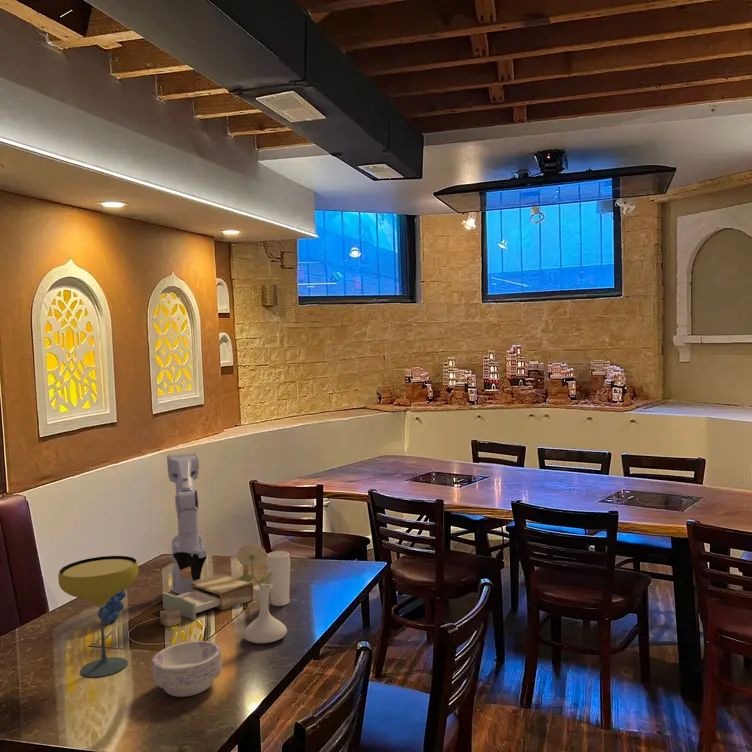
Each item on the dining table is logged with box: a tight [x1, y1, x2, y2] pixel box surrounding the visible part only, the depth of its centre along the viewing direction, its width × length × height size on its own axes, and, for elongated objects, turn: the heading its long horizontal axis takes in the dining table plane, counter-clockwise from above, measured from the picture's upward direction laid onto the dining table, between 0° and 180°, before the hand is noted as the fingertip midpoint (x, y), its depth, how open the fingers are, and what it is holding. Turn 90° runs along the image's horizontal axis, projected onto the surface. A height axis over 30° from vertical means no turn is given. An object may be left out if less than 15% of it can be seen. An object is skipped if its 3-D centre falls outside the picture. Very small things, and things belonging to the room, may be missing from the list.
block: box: [159, 608, 182, 628], centre depth 204 cm, size 4×4×4 cm
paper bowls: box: [151, 640, 223, 698], centre depth 163 cm, size 15×15×8 cm
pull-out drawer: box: [161, 590, 220, 621], centre depth 215 cm, size 16×10×5 cm, turn 47°
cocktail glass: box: [57, 555, 139, 679], centre depth 176 cm, size 18×18×25 cm
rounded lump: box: [181, 567, 192, 578], centre depth 214 cm, size 5×5×2 cm
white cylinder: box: [266, 550, 291, 607], centre depth 216 cm, size 7×7×15 cm
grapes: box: [97, 589, 127, 625], centre depth 207 cm, size 12×7×12 cm, turn 165°
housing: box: [191, 573, 254, 611], centre depth 222 cm, size 16×11×5 cm
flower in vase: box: [235, 543, 288, 644], centre depth 190 cm, size 13×11×25 cm
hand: (190, 577), depth 214 cm, fingers closed on rounded lump, 5 cm apart
